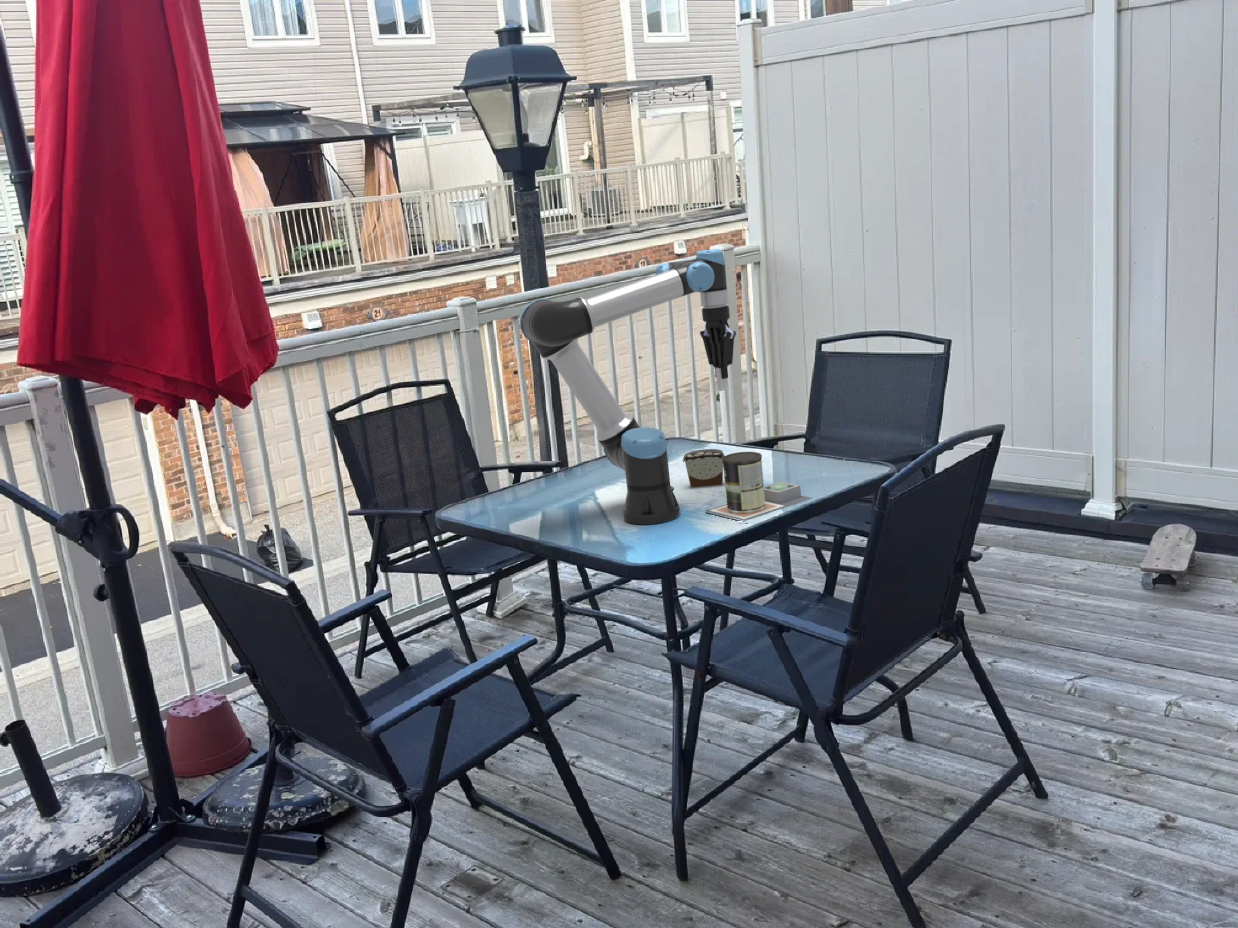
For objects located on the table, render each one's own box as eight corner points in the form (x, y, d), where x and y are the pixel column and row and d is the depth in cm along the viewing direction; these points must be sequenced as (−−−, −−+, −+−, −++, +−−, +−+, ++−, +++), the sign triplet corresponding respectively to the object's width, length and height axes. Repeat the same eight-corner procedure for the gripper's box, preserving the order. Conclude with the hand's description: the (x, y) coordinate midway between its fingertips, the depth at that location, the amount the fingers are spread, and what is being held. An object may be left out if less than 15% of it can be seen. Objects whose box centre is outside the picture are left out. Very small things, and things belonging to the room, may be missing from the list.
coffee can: (722, 514, 284) (717, 461, 280) (732, 502, 293) (727, 452, 290) (761, 513, 280) (756, 460, 277) (769, 502, 289) (765, 450, 286)
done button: (779, 501, 290) (778, 488, 289) (767, 498, 294) (766, 486, 293) (792, 496, 292) (791, 484, 291) (780, 494, 296) (779, 482, 295)
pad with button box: (745, 523, 276) (744, 509, 275) (705, 513, 289) (704, 499, 288) (813, 500, 289) (812, 487, 288) (771, 492, 302) (770, 479, 301)
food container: (728, 479, 321) (724, 446, 319) (728, 485, 315) (724, 451, 313) (686, 483, 323) (683, 450, 320) (685, 488, 317) (682, 455, 314)
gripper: (740, 304, 298) (748, 388, 303) (710, 304, 308) (718, 385, 314) (720, 308, 294) (728, 393, 299) (689, 307, 304) (698, 390, 309)
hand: (723, 389), depth 306 cm, fingers closed
